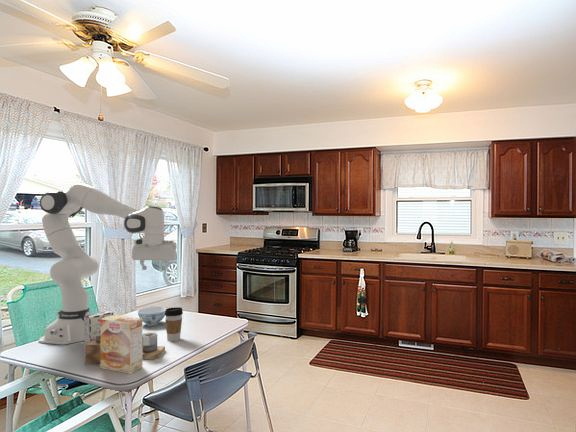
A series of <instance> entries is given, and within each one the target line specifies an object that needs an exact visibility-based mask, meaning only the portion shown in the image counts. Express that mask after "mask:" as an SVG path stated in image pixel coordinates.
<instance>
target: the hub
mask: <svg viewBox="0 0 576 432" xmlns="http://www.w3.org/2000/svg"><path fill="white" fill-rule="evenodd" d="M147 333H148V334H147V336H151V335H152V333H153V332H150V333H149V332H147ZM165 351H166V346H164V345H158V342H157V343H156V344H154V345H150V346H143V345H142V360H158V359H159V358H160V356H162V354H163V353H164V352H165Z"/></svg>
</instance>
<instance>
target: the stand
mask: <svg viewBox="0 0 576 432" xmlns="http://www.w3.org/2000/svg"><path fill="white" fill-rule="evenodd" d="M84 365H85V366H87V365H89V366H91V365H93V366H96V365H97V366H101V335H97V336H96V339H94V340H92V341H90V342H89V343H87V344H85V347H84Z"/></svg>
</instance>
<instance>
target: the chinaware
mask: <svg viewBox="0 0 576 432" xmlns="http://www.w3.org/2000/svg"><path fill="white" fill-rule="evenodd" d="M166 309H167V308H166V307H164V306H149V307H143V308H141V309H138V310H137V314H138V318H141V319H142V323H144V324H145V325H146V326H148V327H153V326H154V327H155V326H157V325H159V323H160V322H162V320H163V319H164V318H165V317H166V315H165V310H166Z"/></svg>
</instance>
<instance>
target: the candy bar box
mask: <svg viewBox="0 0 576 432" xmlns="http://www.w3.org/2000/svg"><path fill="white" fill-rule="evenodd" d="M112 315H114V311H112V310H103V311H100V312H97V313H92V314H89V315H87V316H84V340H83V341H84V348H85V344H87V343H89V342H90V341H92V340H94V339H96V336H97V335H101V319H102V318H105V317H108V316H112Z"/></svg>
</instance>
